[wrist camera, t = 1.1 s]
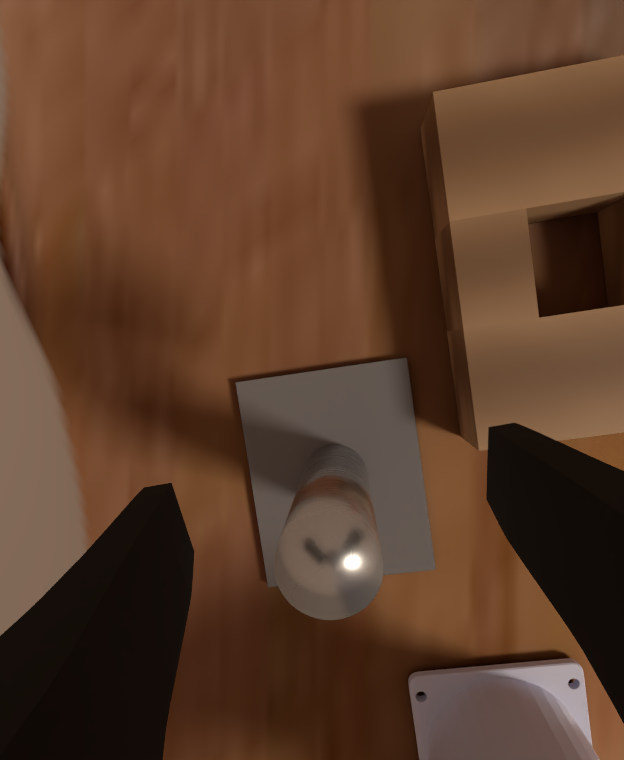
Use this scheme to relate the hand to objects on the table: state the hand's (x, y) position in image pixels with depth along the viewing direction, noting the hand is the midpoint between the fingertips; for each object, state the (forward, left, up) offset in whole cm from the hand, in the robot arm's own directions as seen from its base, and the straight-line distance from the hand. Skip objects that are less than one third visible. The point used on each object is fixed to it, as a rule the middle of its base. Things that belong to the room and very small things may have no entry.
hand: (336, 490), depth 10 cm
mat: (-3, +1, -11) cm, 12 cm away
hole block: (+5, -10, -11) cm, 16 cm away
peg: (-3, +1, -11) cm, 11 cm away
